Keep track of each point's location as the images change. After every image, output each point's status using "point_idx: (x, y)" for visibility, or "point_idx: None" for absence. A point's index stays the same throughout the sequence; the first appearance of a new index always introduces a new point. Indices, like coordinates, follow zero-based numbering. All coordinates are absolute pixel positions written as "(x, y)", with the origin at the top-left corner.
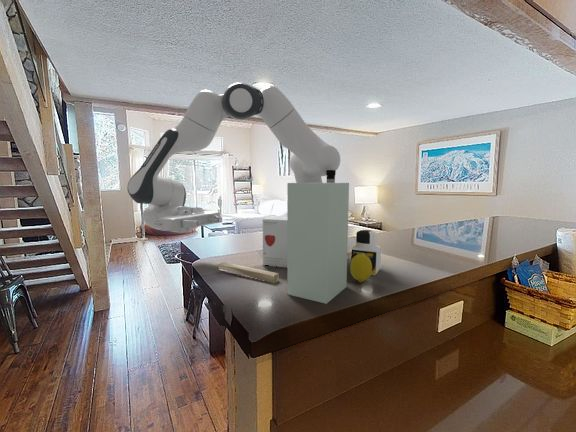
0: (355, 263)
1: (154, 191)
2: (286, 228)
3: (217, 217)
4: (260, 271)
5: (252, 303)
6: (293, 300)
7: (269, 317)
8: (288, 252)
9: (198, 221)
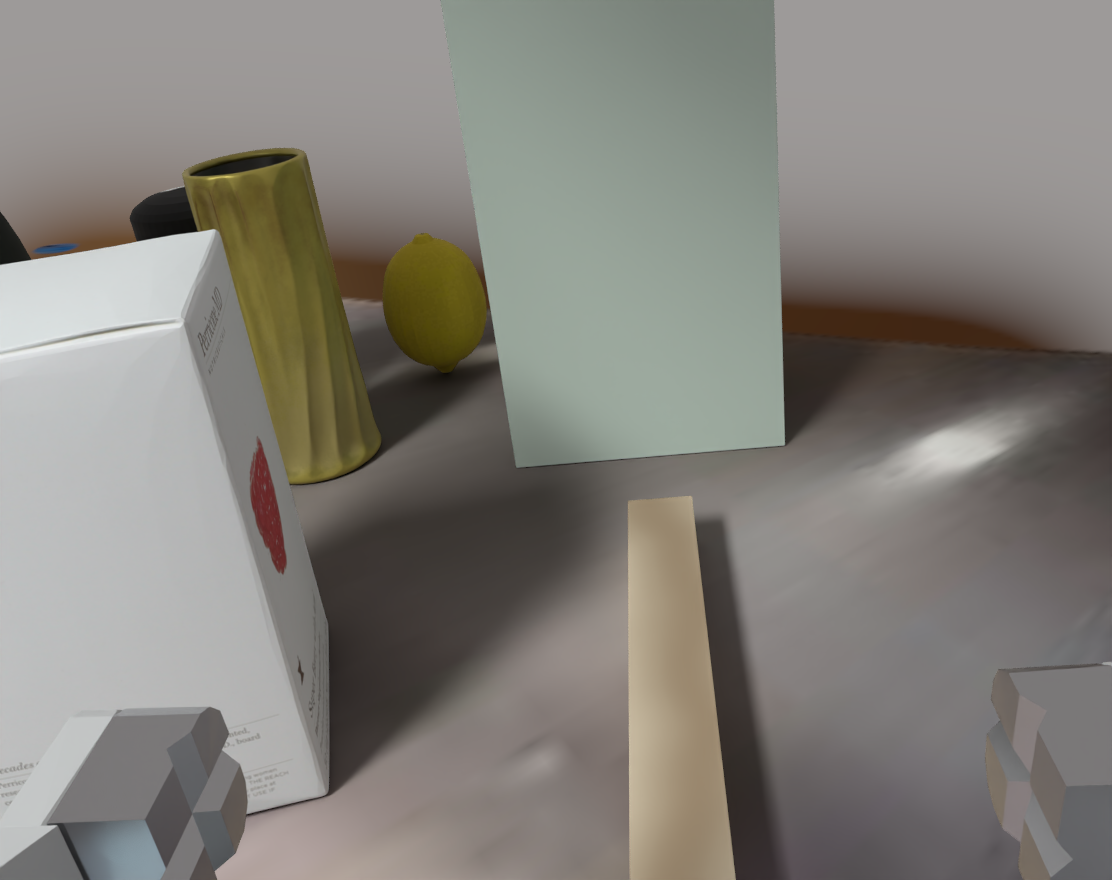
0: (471, 276)
1: None
2: (239, 316)
3: (195, 727)
4: (666, 576)
5: (1009, 473)
6: (823, 412)
7: (1034, 392)
8: (778, 218)
9: (1009, 671)
